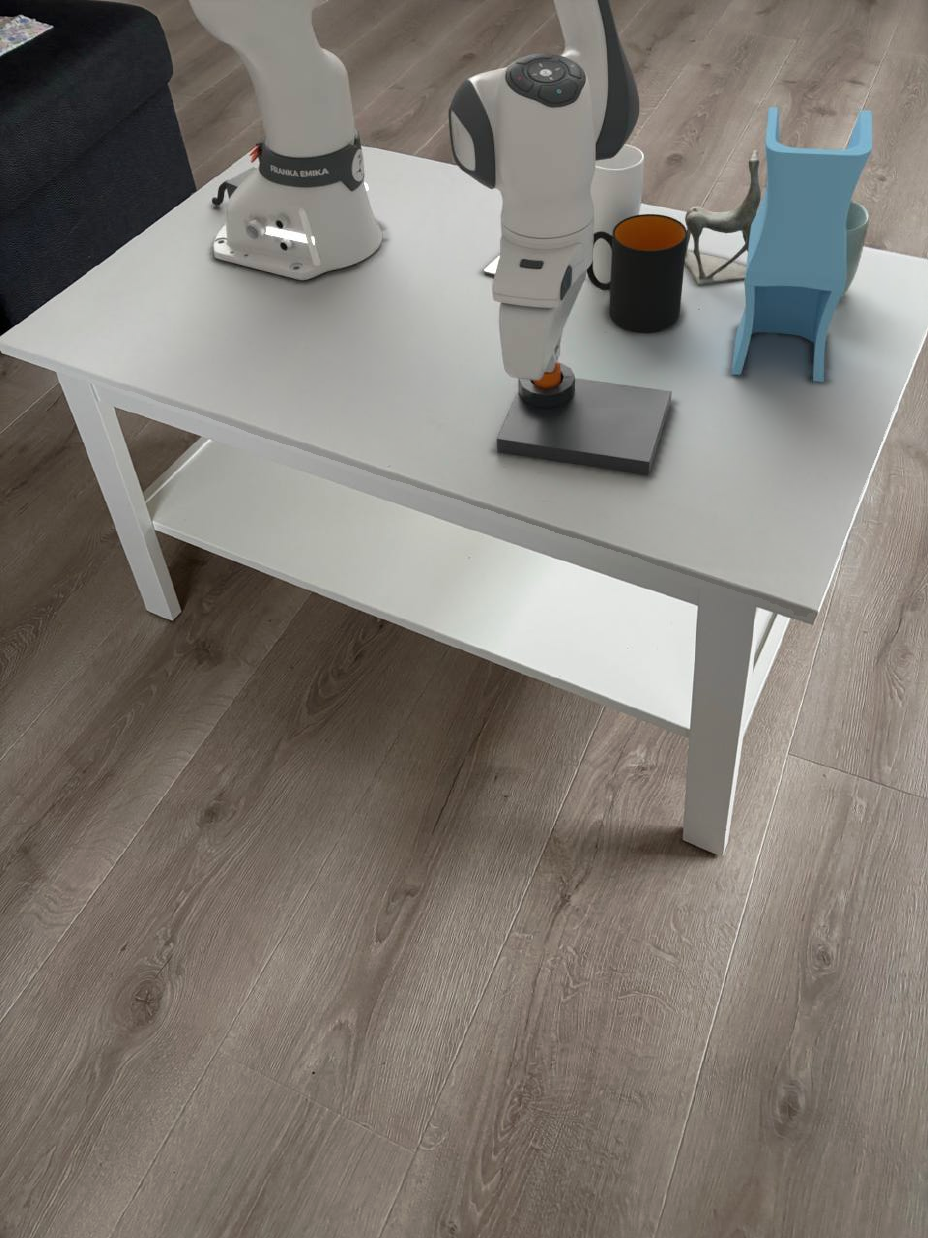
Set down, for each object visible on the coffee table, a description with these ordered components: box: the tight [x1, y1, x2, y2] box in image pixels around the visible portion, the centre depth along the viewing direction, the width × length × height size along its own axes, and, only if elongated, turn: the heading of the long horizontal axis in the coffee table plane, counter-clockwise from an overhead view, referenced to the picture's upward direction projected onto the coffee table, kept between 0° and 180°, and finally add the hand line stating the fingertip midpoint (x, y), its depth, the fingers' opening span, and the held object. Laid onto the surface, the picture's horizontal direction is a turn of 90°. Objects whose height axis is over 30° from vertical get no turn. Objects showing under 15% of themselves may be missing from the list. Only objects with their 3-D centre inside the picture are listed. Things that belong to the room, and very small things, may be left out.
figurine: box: [684, 149, 762, 286], centre depth 128 cm, size 11×6×15 cm, turn 52°
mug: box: [586, 213, 687, 334], centre depth 126 cm, size 8×12×10 cm
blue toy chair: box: [731, 106, 873, 383], centre depth 113 cm, size 10×10×25 cm
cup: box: [842, 200, 870, 296], centre depth 126 cm, size 8×8×10 cm
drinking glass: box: [590, 143, 645, 284], centre depth 130 cm, size 7×7×15 cm
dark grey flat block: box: [496, 362, 673, 476], centre depth 114 cm, size 16×12×4 cm
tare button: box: [533, 360, 561, 388], centre depth 116 cm, size 3×3×2 cm
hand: (548, 364), depth 115 cm, fingers closed
